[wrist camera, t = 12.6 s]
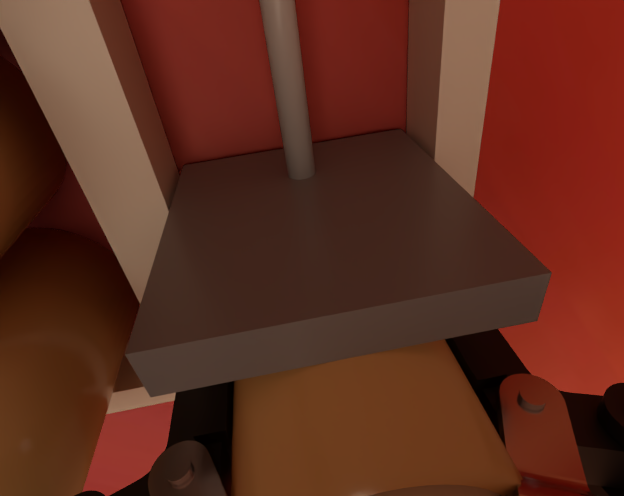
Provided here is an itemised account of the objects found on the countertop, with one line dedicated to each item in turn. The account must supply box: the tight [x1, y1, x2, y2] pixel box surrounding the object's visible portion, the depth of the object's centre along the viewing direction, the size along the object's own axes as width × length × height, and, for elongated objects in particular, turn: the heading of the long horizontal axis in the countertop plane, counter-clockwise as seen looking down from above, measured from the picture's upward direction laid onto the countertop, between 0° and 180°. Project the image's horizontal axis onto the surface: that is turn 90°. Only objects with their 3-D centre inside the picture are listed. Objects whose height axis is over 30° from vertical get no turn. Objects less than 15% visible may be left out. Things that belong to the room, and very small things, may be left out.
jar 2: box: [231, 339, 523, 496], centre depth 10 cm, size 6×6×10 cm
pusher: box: [125, 0, 552, 397], centre depth 8 cm, size 9×7×8 cm
